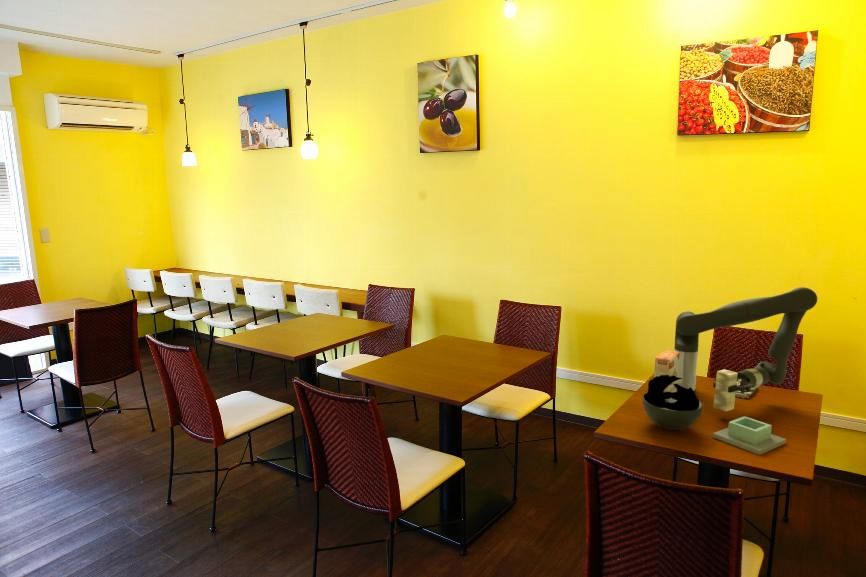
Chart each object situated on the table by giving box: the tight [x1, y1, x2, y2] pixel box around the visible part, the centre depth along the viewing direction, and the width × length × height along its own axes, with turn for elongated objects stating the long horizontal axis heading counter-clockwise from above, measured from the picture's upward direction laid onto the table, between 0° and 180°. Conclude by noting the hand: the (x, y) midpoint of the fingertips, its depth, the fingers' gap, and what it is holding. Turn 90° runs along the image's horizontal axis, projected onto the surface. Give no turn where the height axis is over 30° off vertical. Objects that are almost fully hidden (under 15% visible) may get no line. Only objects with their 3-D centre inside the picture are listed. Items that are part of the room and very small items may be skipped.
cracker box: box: [653, 349, 680, 392], centre depth 225 cm, size 14×6×21 cm, turn 143°
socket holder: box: [712, 416, 787, 456], centre depth 194 cm, size 16×16×6 cm
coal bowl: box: [641, 375, 704, 431], centre depth 204 cm, size 20×20×19 cm
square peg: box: [713, 369, 738, 412], centre depth 212 cm, size 5×5×14 cm
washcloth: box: [735, 387, 758, 399], centre depth 243 cm, size 12×18×3 cm, turn 142°
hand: (721, 387), depth 211 cm, fingers closed on square peg, 5 cm apart
